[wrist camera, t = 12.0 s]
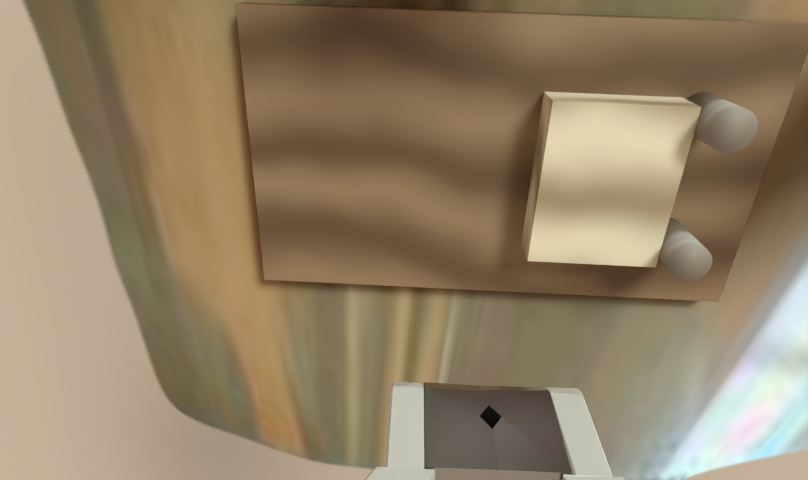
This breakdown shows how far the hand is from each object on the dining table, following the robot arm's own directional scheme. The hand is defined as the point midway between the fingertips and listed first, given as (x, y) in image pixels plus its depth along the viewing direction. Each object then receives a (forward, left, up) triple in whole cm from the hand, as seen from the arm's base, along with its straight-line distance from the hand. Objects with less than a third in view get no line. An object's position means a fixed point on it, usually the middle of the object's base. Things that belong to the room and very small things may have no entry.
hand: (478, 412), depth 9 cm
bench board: (+5, +4, -27) cm, 28 cm away
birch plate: (+5, +10, -25) cm, 28 cm away
